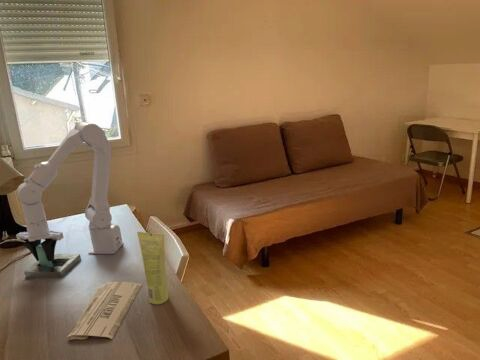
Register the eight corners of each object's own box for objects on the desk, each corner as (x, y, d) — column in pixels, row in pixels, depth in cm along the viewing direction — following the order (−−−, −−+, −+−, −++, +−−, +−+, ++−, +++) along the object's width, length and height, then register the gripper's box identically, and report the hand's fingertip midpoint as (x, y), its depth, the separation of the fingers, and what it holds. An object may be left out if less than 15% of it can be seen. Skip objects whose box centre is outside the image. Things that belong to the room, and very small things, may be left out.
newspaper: (100, 287, 104) (100, 280, 103) (142, 290, 103) (142, 283, 103) (58, 344, 82) (57, 335, 81) (110, 349, 82) (110, 339, 81)
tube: (168, 291, 99) (159, 226, 93) (173, 300, 95) (164, 233, 89) (147, 297, 97) (137, 231, 91) (151, 307, 92) (141, 239, 87)
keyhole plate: (81, 259, 120) (79, 254, 119) (61, 277, 109) (60, 272, 109) (48, 259, 121) (46, 253, 121) (25, 277, 111) (24, 271, 110)
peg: (55, 265, 117) (50, 243, 114) (48, 271, 114) (43, 248, 111) (45, 265, 117) (40, 243, 115) (38, 270, 114) (33, 248, 112)
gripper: (5, 226, 108) (16, 265, 112) (49, 225, 106) (59, 266, 110) (21, 216, 115) (31, 254, 119) (63, 216, 113) (72, 254, 117)
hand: (45, 259), depth 115 cm, fingers closed on peg, 3 cm apart
